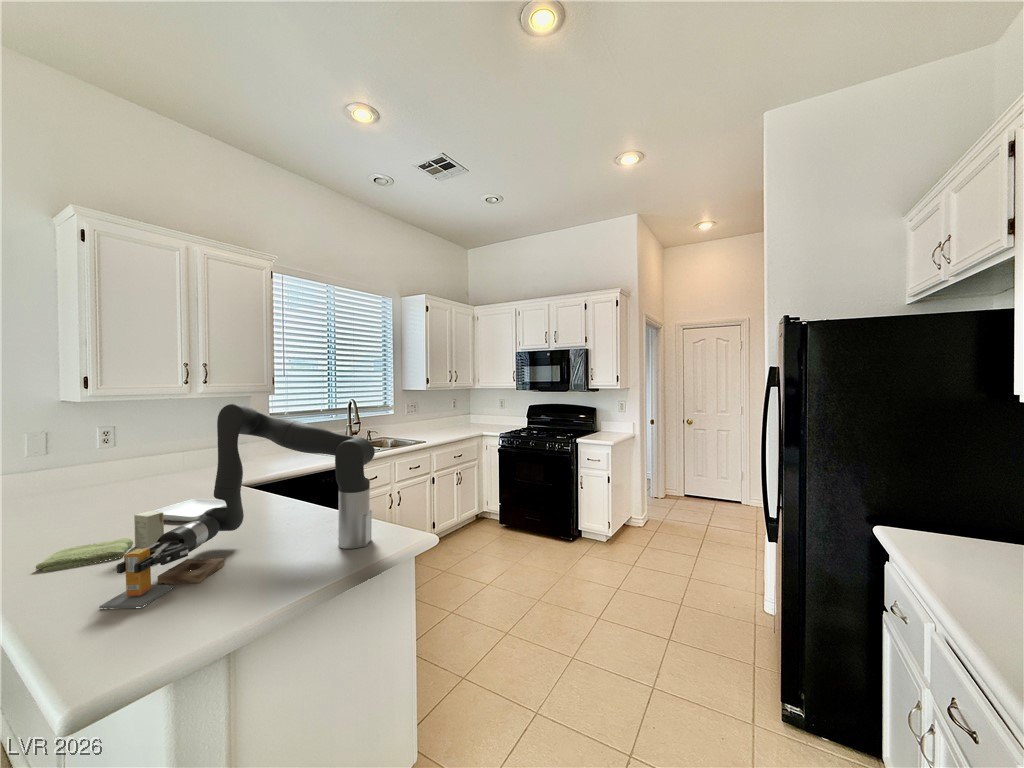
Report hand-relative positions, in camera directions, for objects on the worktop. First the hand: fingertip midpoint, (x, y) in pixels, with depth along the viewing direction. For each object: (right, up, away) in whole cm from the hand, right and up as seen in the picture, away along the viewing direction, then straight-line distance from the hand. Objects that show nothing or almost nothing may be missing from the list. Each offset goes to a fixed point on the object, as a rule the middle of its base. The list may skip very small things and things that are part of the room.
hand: (127, 569), depth 93 cm
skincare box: (-20, -8, +28) cm, 35 cm away
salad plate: (-36, -9, +65) cm, 75 cm away
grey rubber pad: (0, -8, +3) cm, 9 cm away
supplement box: (0, -7, +3) cm, 8 cm away
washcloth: (-35, -9, +25) cm, 44 cm away
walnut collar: (+3, -8, +15) cm, 17 cm away
